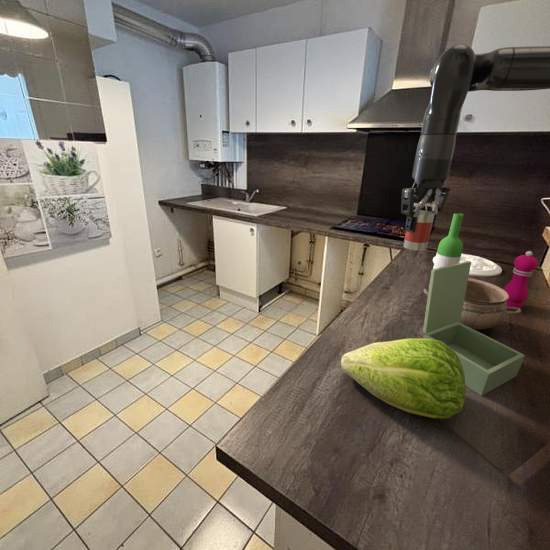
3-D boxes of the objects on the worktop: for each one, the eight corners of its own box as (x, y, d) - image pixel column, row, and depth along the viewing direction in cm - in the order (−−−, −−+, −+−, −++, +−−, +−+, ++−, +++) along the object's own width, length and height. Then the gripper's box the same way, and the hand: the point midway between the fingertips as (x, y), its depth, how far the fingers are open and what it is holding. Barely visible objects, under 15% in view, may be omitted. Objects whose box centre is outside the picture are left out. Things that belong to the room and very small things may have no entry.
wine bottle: (455, 293, 110) (476, 214, 99) (443, 298, 107) (464, 217, 95) (435, 286, 117) (453, 211, 105) (423, 290, 113) (441, 213, 101)
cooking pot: (414, 325, 90) (422, 290, 85) (422, 301, 104) (429, 270, 100) (515, 353, 78) (531, 313, 73) (508, 321, 92) (521, 286, 88)
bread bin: (515, 378, 69) (525, 355, 66) (480, 398, 63) (489, 373, 60) (452, 342, 82) (458, 321, 79) (418, 356, 76) (423, 334, 74)
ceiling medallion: (452, 252, 156) (454, 246, 155) (513, 268, 134) (515, 262, 133) (420, 261, 143) (421, 255, 142) (481, 281, 121) (483, 274, 120)
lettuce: (338, 415, 65) (362, 380, 77) (468, 438, 50) (471, 391, 63) (325, 352, 64) (351, 328, 76) (454, 357, 49) (460, 326, 62)
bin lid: (471, 261, 73) (467, 260, 74) (434, 270, 68) (431, 269, 68) (460, 320, 79) (457, 319, 79) (425, 333, 73) (422, 332, 74)
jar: (413, 243, 77) (420, 209, 74) (431, 249, 73) (439, 213, 69) (398, 246, 75) (404, 211, 71) (416, 252, 70) (424, 215, 67)
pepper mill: (526, 306, 101) (548, 252, 93) (518, 312, 97) (540, 256, 90) (502, 298, 107) (520, 246, 99) (494, 304, 103) (512, 250, 95)
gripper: (426, 157, 59) (410, 237, 66) (469, 157, 65) (451, 231, 72) (397, 157, 66) (385, 230, 72) (439, 157, 72) (424, 224, 78)
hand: (418, 230), depth 72 cm, fingers closed on jar, 5 cm apart
